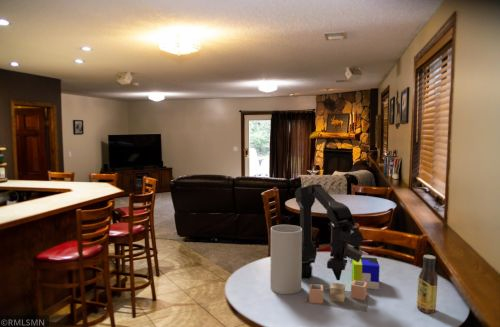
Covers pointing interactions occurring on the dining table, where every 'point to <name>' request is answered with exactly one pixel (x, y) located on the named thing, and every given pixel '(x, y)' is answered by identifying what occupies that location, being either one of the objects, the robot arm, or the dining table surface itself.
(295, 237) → the cylinder vase
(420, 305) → the sauce bottle
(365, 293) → the labelled block right
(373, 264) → the puzzle toy
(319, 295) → the labelled block left
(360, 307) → the mat
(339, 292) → the plain block
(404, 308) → the dining table surface
